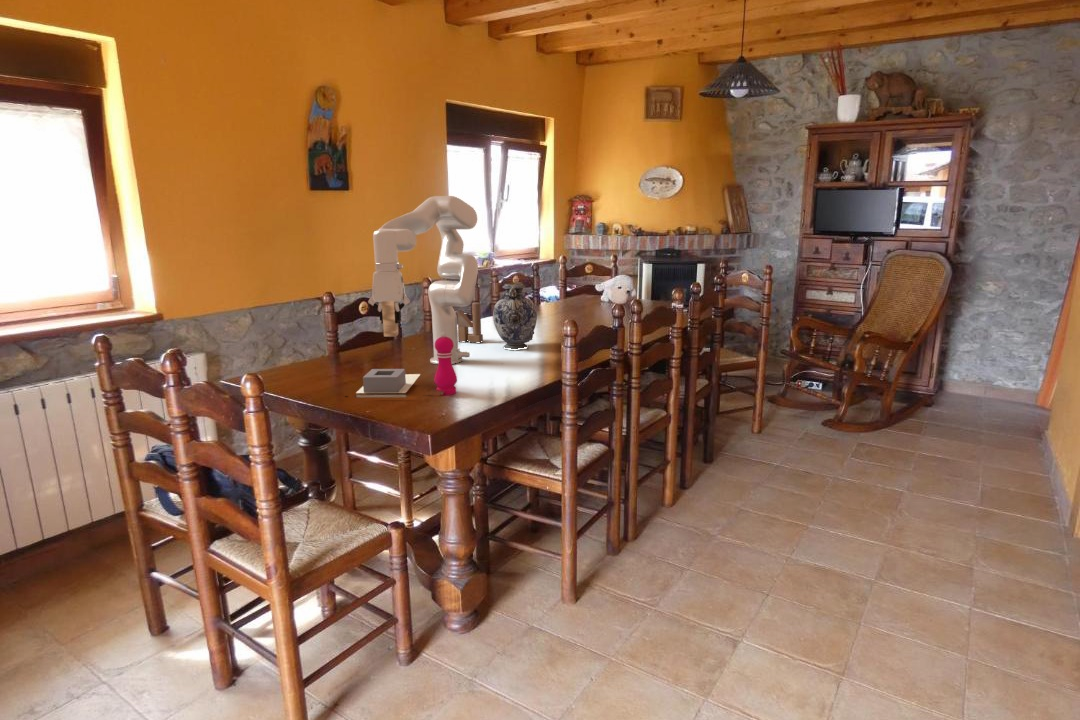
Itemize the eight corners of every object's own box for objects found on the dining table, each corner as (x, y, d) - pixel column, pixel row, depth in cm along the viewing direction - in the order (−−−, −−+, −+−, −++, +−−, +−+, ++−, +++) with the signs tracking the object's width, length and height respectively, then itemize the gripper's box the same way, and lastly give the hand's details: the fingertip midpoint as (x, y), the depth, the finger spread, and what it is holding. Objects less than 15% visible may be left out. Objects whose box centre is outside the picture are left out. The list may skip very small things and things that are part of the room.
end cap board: (420, 378, 228) (419, 360, 226) (406, 397, 204) (404, 377, 203) (375, 378, 228) (374, 360, 226) (355, 397, 204) (354, 377, 203)
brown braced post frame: (462, 340, 294) (460, 301, 290) (483, 342, 290) (482, 302, 286) (458, 342, 290) (456, 302, 286) (479, 343, 286) (478, 303, 282)
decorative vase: (536, 353, 266) (534, 285, 260) (491, 353, 267) (489, 286, 261) (538, 343, 287) (537, 280, 280) (497, 343, 287) (494, 280, 281)
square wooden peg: (398, 334, 220) (396, 299, 217) (395, 336, 216) (393, 300, 213) (386, 334, 220) (384, 299, 217) (383, 336, 216) (381, 301, 213)
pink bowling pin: (442, 389, 213) (439, 329, 209) (461, 391, 211) (459, 330, 206) (430, 394, 207) (427, 333, 202) (450, 396, 204) (447, 334, 200)
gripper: (414, 266, 216) (417, 320, 221) (365, 267, 217) (368, 321, 221) (409, 268, 209) (412, 324, 213) (358, 269, 209) (362, 324, 214)
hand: (390, 322), depth 217 cm, fingers closed on square wooden peg, 4 cm apart
